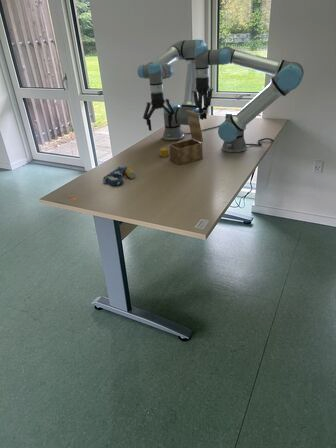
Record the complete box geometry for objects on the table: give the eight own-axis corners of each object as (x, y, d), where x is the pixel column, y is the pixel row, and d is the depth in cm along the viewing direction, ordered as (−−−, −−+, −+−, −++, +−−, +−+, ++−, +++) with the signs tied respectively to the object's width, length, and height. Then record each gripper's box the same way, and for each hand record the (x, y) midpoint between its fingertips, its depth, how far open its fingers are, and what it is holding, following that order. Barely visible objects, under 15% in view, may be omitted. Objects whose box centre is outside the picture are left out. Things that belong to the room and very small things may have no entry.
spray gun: (141, 172, 194) (120, 170, 201) (140, 166, 192) (119, 164, 199) (122, 188, 179) (100, 185, 185) (121, 181, 177) (98, 178, 183)
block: (161, 157, 215) (160, 150, 213) (160, 155, 219) (160, 148, 217) (168, 156, 216) (167, 149, 214) (167, 154, 219) (166, 147, 217)
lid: (196, 114, 192) (208, 108, 194) (186, 110, 201) (198, 105, 203) (201, 142, 202) (213, 137, 204) (191, 138, 211) (203, 133, 213)
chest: (179, 164, 202) (178, 149, 197) (170, 159, 211) (169, 144, 205) (202, 158, 208) (202, 143, 203) (193, 153, 217) (192, 138, 211)
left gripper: (139, 96, 190) (143, 133, 201) (178, 89, 198) (180, 125, 209) (135, 94, 196) (139, 130, 207) (173, 88, 204) (175, 123, 215)
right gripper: (194, 79, 184) (196, 122, 196) (216, 75, 189) (216, 117, 202) (187, 78, 190) (189, 120, 202) (209, 74, 195) (210, 115, 207)
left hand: (160, 128), depth 208 cm, fingers open, 13 cm apart
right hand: (203, 118), depth 202 cm, fingers closed on lid, 2 cm apart
